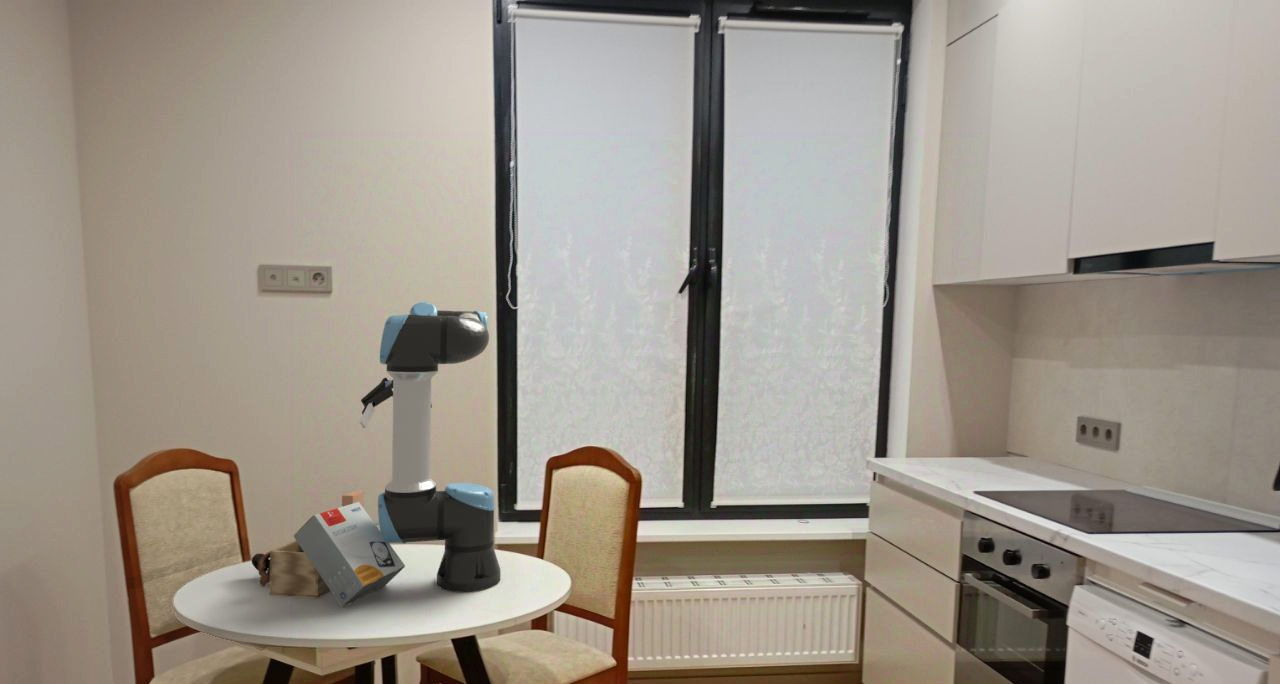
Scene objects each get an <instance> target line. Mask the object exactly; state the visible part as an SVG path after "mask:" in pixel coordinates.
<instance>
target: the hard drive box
mask: <svg viewBox="0 0 1280 684" xmlns="http://www.w3.org/2000/svg"><path fill="white" fill-rule="evenodd" d="M373 521H374V520H373V519H372V518H371V516H370V515H369V514H368V512H367V511H366V509H365V508H364V506H363V507H362V505H361V504H360V502H357V503H354V504H350V505H347V506H343V507H342V506H340V507H337V508H334V509H333V508H332V509H331V510H328V511H324V512H320V513H317V514H313V515H312V516H311V517H310V518H309V519H308V520H307V521H306V522H305V523H304V524H303V525H302V526H301V527H300V529H299V530H298V531H297V532H295V534H294V535H293V538H294V540H296V541H297V542H298V544H299V545H300V547H301V548H302V550H303V551H304V552H305V554H306V555H307V557H308V558H309V559H310V561H311V563H312V564H313V565H314V567H315V568H316V570H317V571H318V573H319V574H320V576H321V577H322V578H323V580H324V581H325V583H326V584H327V586H328V587H329V589H330V590H331V591H330V592H331V593H332V594H333V597H334V598H335V599H336V600H337V602H338V604H339V605H340V606H341V608H344V607H346V606H348V605H350V604H352V603H355V602H356V601H358V600H360V599H361V598H363V597H366V596H368V595H369V594H371V593H373V592H375V591H377V590H379V589H381V588H382V587H385V586H387V585H388V584H389V583H390V582H391V581H392V580H393V579H394V578H395V577H396V576H397V575H398V574H400V572H402V570H403V569H405V567H406V565H405V563H404V562H403V561H402V559H401V557H400V556H399V555H398V554H397V552H396V551H395V549H394V548H393V546H392V545H391V543H388V542H386V541H385V540H384V539H383V537H382V535H381V531H380V528H378V525H377V526H376V525H375V523H374V522H373Z"/></svg>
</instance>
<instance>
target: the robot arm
mask: <svg viewBox="0 0 1280 684" xmlns="http://www.w3.org/2000/svg"><path fill="white" fill-rule="evenodd" d="M381 336H382V337H381V342H380V349H379V363H380V364H381V365H382V364H383V365H386V373H387V374H388V375H389V376H390V377H391V378H392V379H388V377H384V378H382V380H381V381H380V383H379V384H378V385H376V386H375V387H373V389H372V390H370V391H369V392H368V393H367V394H366V395H365V396H363V397H362V398H361V399H360V402H361V403H362V405H363V409H362V411H361V414H362V415H361V417H360V419H359V421H358V422H359V424H360V425H361V427H362V429H364V428H365V429H366V428H367V426H368V424H369V422H370V420H371V418H372V416H373V415H374V413H375V410H376V409H375V407H377V406H378V405H380V404H381V403H384V402H385V401H387V400H388V399H389V398H391V397H392V442H391V443H392V446H391V448H392V449H391V450H392V451H391V453H392V455H391V458H392V459H391V479H390V481H388V483H386V484H385V486H384V492H382V493H380V494H379V495H378V497H377V516H378V522H379V525H378V526H379V530H380V532H381V535H382V537H383V539H384V540H385V541H386V542H388V543H389V544H406V543H420V542H433V541H435V542H437V541H438V542H439V541H444V552H443V555H442V558H441V561H440V564H439V567H438V570H437V573H436V585H437V586H438V588H440V589H442V590H445V591H450V592H475V591H480V590H481V591H482V590H485V589H488V588H491V587H493V586H495V585H497V584H498V583H500V581H501V575H502V574H501V567H500V564H499V560H498V557H497V553H496V552H495V546H494V545H495V544H494V543H495V542H494V541H495V531H494V530H495V529H494V527H495V525H494V524H495V510H496V506H495V495H494V491H493V490H492V489H491V488H489V487H487V486H485V485H481V484H477V483H476V484H475V483H467V482H456V483H453V482H452V483H448V484H447V485H446V486H445V488H444V490H437V482H435V481H434V480H433V479H432V478H431V431H432V430H431V429H432V428H431V424H432V423H431V422H432V421H431V419H432V416H431V415H432V414H431V413H432V412H431V411H432V410H431V409H432V407H433V405H432V378H434V376H435V375H436V374H438V373H439V365H452V364H454V365H455V364H461V363H465V362H467V361H469V360H472V359H474V358H476V357H478V356H479V355H481V354H482V353H483V352H485V350H486V349H487V346H488V345H489V341H490V334H489V331H488V314H487V312H485V311H476V310H474V311H469V310H467V311H466V310H462V311H461V310H458V311H457V310H456V311H455V310H453V311H452V310H437V307H436V306H435V305H434V304H433V303H430V302H426V301H421V302H417V303H415V304H413V305H412V306H411V308H410V311H409V313H407V314H398V315H397V314H396V315H395V314H394V315H391V316H389V317H388V318H387V319H386V321H385V323H384V327H383V330H382V335H381Z"/></svg>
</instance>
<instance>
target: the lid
mask: <svg viewBox="0 0 1280 684" xmlns="http://www.w3.org/2000/svg"><path fill="white" fill-rule="evenodd" d="M357 502H360V504H361V505H362V507H363V508H364V491H354V490H353V491H350V492H348V493H346V494H343V495H341V507H343V506H347V505H350V504H354V503H357ZM372 521H373V522H374V523H375V525H376V526H377V527H378V526H379V520H377V521H375V520H372Z"/></svg>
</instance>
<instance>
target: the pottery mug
mask: <svg viewBox="0 0 1280 684" xmlns="http://www.w3.org/2000/svg"><path fill="white" fill-rule="evenodd" d="M251 564H252V566H253V567H254V568H255V569H256V570H257V572H258V575H259V576H260V578H259V581H258V582H259V585H260V586H262V587H266V585H267V583H268V584H270V551H268V552H266V553H265V554H264V553H255V554H254V555H253V557H252V558H251Z"/></svg>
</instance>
